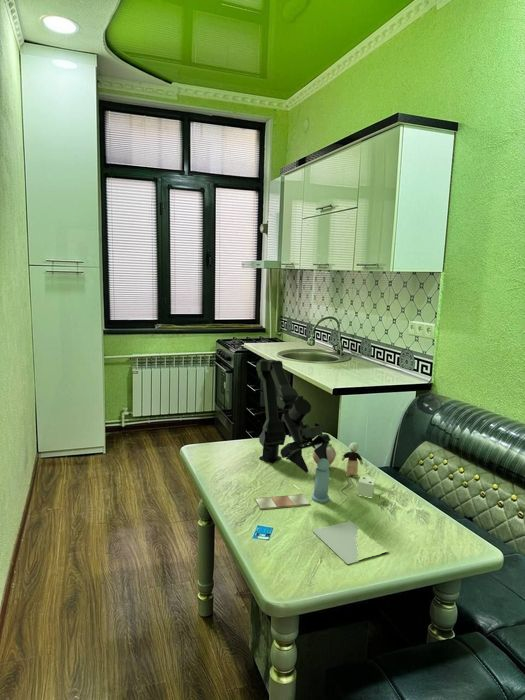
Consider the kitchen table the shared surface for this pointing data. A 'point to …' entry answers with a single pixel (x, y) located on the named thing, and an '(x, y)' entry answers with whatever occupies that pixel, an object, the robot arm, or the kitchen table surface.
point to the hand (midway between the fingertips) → (317, 469)
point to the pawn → (321, 482)
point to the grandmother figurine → (352, 460)
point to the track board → (281, 502)
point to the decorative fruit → (330, 454)
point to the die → (366, 486)
